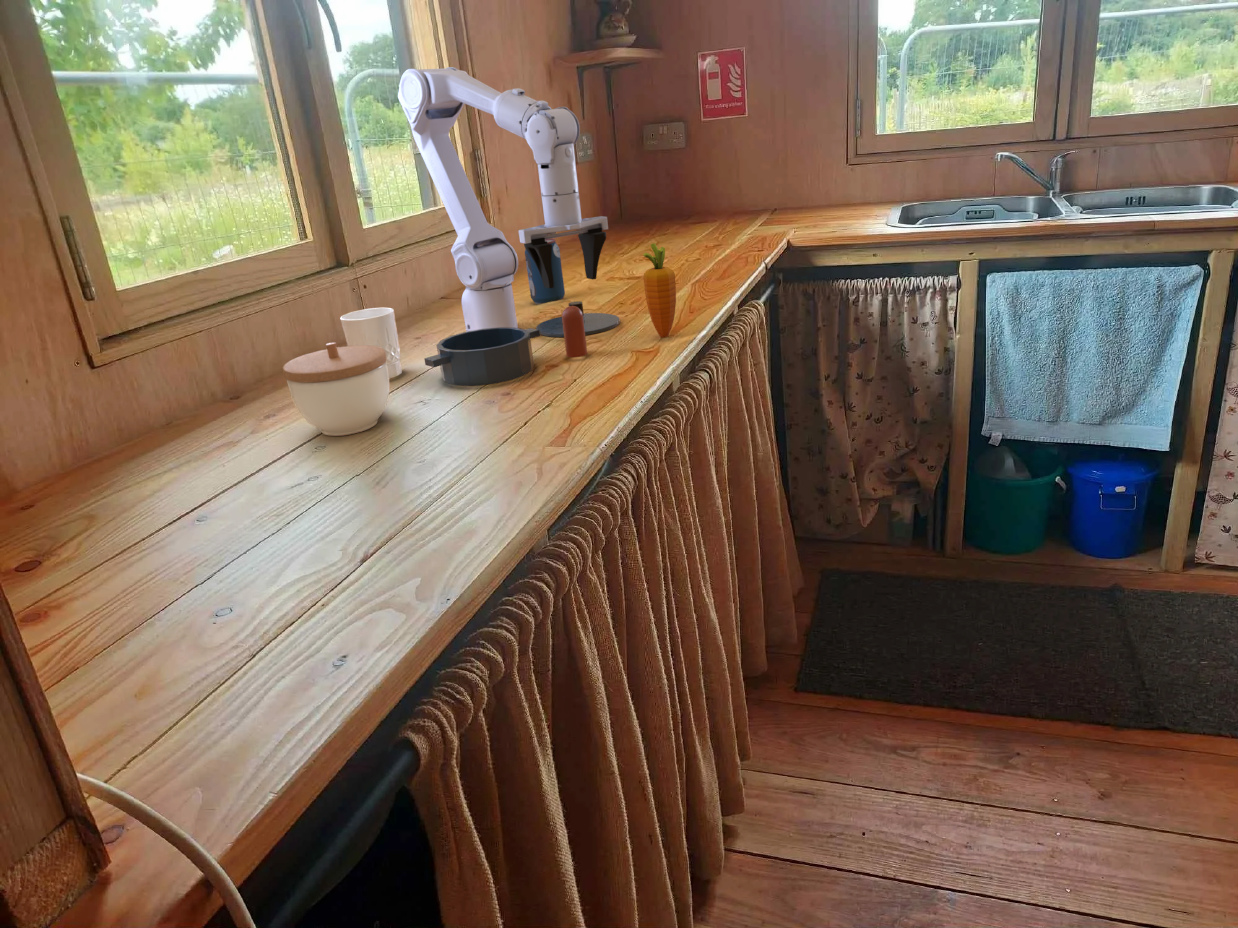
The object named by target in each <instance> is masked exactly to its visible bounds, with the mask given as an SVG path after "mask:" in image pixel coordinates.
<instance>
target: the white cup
mask: <svg viewBox="0 0 1238 928" xmlns="http://www.w3.org/2000/svg"><path fill="white" fill-rule="evenodd" d="M339 319H340V323H341V326H342V330H343V333H344V337H345V343H346V346H356V345H368V346H377V347H380V348H382V349H384V350H385V352H386V358H387V360H386V363H387V368H388V374H389V379H392V378H395V377H397V376H399V375H401V374H402V373H403V370H402V369H403V368H402V363H401V351H400V343H399V335H398V334H399V333H398V328H397V321H396V316H395V309H394V308H391V307H371V308H364V309H359V310H354V311H350V312H348V313H345V314H343V315H341V316H340V318H339Z"/></svg>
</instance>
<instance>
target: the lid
mask: <svg viewBox="0 0 1238 928" xmlns="http://www.w3.org/2000/svg"><path fill="white" fill-rule="evenodd" d="M569 306H576V307H578V308H579V309H580V310H581V311H582V313H583V320H584V329H585V336H589V335H595V334H600V333H603V332H607V331H610V330H612V329H614V328H616V327H618V326H619V325H620V323H621V320H620V317H619V316H618V315H615V314H611V313H606V312H605V313H603V312H586V313H585V312H584V305H583V302H582V301H580V300H579V301H578V300H576V301H570V302H569V303H568V307H569ZM535 329H537V330H539V331H540V336H543V337H548V338H564V331H563V323H562V316H558V317H557V316H556V317H554V318H550V319H547V320H545V321H542V322H540V323H538V324H537V325H536V327H535Z"/></svg>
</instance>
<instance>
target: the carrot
mask: <svg viewBox="0 0 1238 928" xmlns="http://www.w3.org/2000/svg"><path fill="white" fill-rule="evenodd" d="M650 247H651V249H652V252H653V254H654V255H651V254H650V253H648V252H644V253H643V254H642V255H643V257H644V258H647V259H648V260H649V261H650V262H651V263H652V265H653V267H651V268H649V269H647V270H645V271H644V273H643V286H644V293H645V294H644V295H645V300H646V301H645V302H646V305H647V309H648V313H649V316H650V320H651V323H652V325H653V327H654V329H655V331H656V333H657V335H658V336H659V337H660V338H663V339H665V338H668V337H669V335H670V332H671V330H672V328H673V324H674V321H675V315H676V304H677V285H676V273H675V271H674V270H673V269H672V268H670V267H668V266H664V262H665V257H666V248H665V247H663V246H661V247H660V248H659V249H658V246H657V244H656V243H655V242H653V243H651V244H650Z"/></svg>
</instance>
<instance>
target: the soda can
mask: <svg viewBox="0 0 1238 928" xmlns="http://www.w3.org/2000/svg"><path fill="white" fill-rule="evenodd" d="M545 241H547V244H551V245H552V255H551V263H552V273H553V280H554V288H546V287H544V284H543V281H542V278H541V276H540V273H539V271H538V269H537V266H536V264H535V263H534V261H533V259H532V257H531V256H530V254H529V253H528V251H527V250H526V249H524V257H525V265H526V272H527V280H528V281H527V282H528V287H529V293H530V295H529V296H530V298H531V300H532V302H534V304H535V305H539V306H540V305H543V304H548V303H551V302H556V301H559V300H563V299H564V297H565V294H566V290H565V283H564V275H563V266H562V259H561V251H560V246H559V245H558V244H557V242H556V238H551V239H546V240H545Z"/></svg>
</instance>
